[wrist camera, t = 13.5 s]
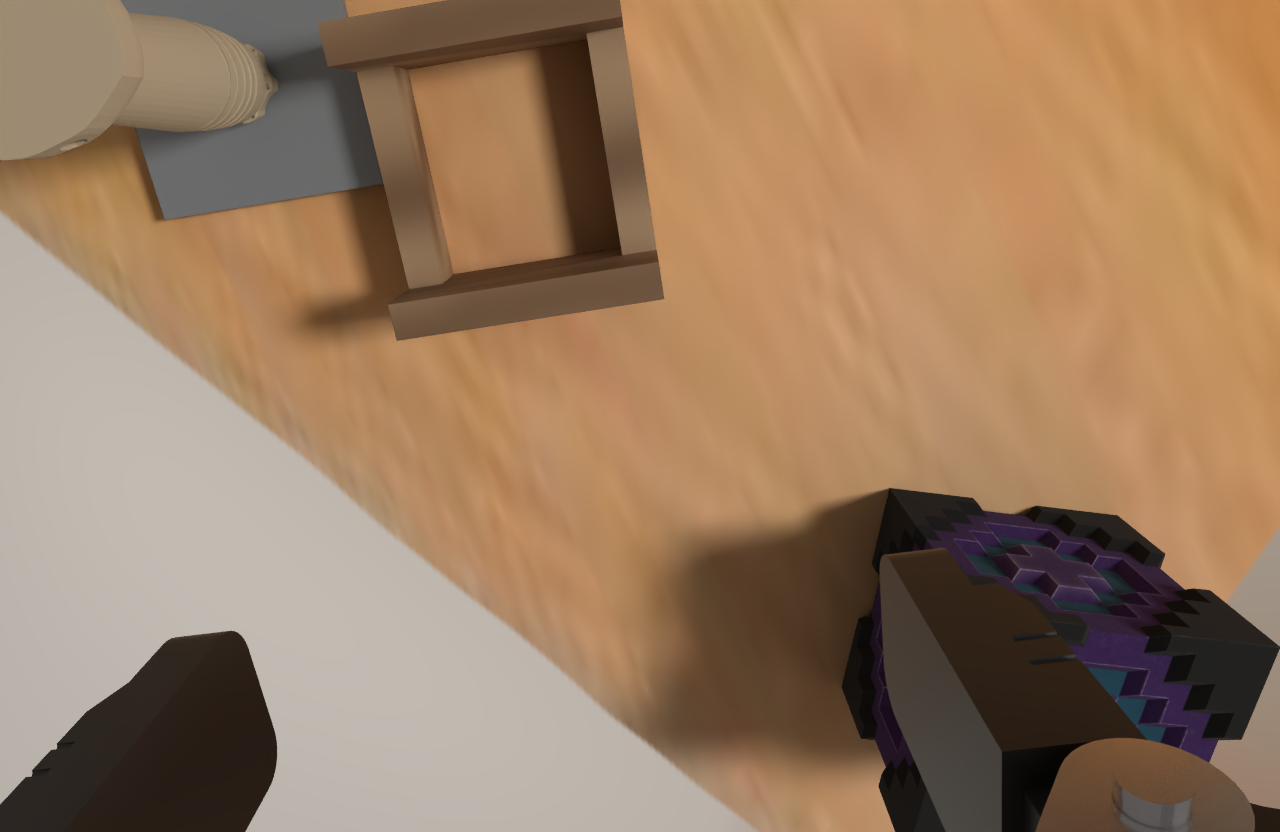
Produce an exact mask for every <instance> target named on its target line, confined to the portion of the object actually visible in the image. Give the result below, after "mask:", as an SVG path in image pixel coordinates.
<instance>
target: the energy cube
mask: <svg viewBox="0 0 1280 832" xmlns="http://www.w3.org/2000/svg"><path fill="white" fill-rule="evenodd" d="M937 548H945V549H946V550H947V551H948V552H949V553H950V554H951V556H952V557H953V558H954V560H955V561H956V562H957V564H958V565H959V566H960V568H961V569H962V571H963V572H964V573H965V575H966V576H967V577H968V579H969V580H970V581H971V583H972V584H973V585H974V586H976V585H984V584H993V583H998V584H1000V585H1002V586H1003V587H1005V588H1007V589H1009V590H1010V591H1012V592H1014V593H1016V594H1018V595H1019V596H1021V597H1023V598H1025V599H1026V600H1028V601H1030V602H1032V603H1033V604H1035V606H1036V607H1037V608H1038V609H1039V610H1040V612H1041V613H1042V614H1043V615H1044V616H1045V618H1046V619H1047V620H1048V621H1049V622H1050V624H1051V625H1052V626H1053V627H1054V628H1055V630H1056V631H1057V636H1058V637H1060V636H1061V637H1062V638H1063V639H1064V640H1065V642H1066V643H1067V644H1068V645H1069V646H1070V648H1071V649H1072V650H1073V651H1074V652H1075V654H1076V659H1077V660H1081V661H1082V662H1083V663H1084V665H1085V666H1086V667H1087V668H1088V669H1089V671H1090V672H1091V673H1092V674H1093V675H1094V677H1095V678H1096V679H1097V680H1098V681H1099V683H1100V684H1101V685H1102V686H1103V687H1104V689H1105V690H1106V691H1107V692H1108V693H1109V695H1110V696H1111V697H1112V698H1113V699H1114V701H1115V702H1116V703H1117V704H1118V705H1119V707H1120V708H1121V709H1122V710H1123V711H1124V713H1125V714H1126V715H1127V716H1128V717H1129V719H1130V720H1131V721H1132V722H1133V723H1134V725H1135V726H1136V727H1137V728H1138V729H1139V731H1140V732H1141V733H1142V734H1143V735H1144V737H1145V738H1146V739H1147V740H1150V741H1154V742H1158V743H1163V744H1167V745H1170V746H1173V747H1176V748H1179V749H1182V750H1184V751H1186V752H1189V753H1191V754H1193V755H1196V756H1197V757H1199V758H1201V759H1203V760H1205V761H1207V762H1208V763H1209V762H1210V759H1211V757H1212V754H1213V752H1214V749H1215V747H1216V745H1217V742H1218V740H1241V739H1242V737H1243V735H1244V732H1245V730H1246V728H1247V725H1248V723H1249V720H1250V718H1251V716H1252V713H1253V711H1254V709H1255V706H1256V703H1257V701H1258V699H1259V697H1260V694H1261V692H1262V689H1263V687H1264V685H1265V682H1266V680H1267V677H1268V675H1269V673H1270V670H1271V668H1272V666H1273V663H1274V661H1275V659H1276V656H1277V653H1278V651H1279V649H1280V646H1278V645H1277V644H1276V643H1275V642H1273V641H1272V640H1271V639H1269V638H1268V637H1267V636H1266V635H1265V634H1263V633H1262V632H1261V631H1259V630H1258V629H1257V628H1256V627H1255V626H1253V625H1252V624H1251V623H1250V622H1249V621H1247V620H1246V619H1245V618H1244V617H1242V616H1241V615H1240V614H1239V613H1237V612H1236V611H1235V610H1234V609H1232V608H1231V607H1230V606H1229V605H1228V604H1226V603H1225V602H1224V601H1223V600H1221V599H1220V598H1219V597H1218V596H1216V595H1215V594H1214V593H1213V592H1211V591H1210V590H1202V589H1187V590H1185V589H1183V588H1182V587H1181V586H1180V585H1179V584H1178V583H1176V582H1175V581H1174V580H1173V579H1172V578H1170V577H1169V576H1168V575H1167V574H1166V573H1165V572H1164V571H1162V570H1161V569H1160V568H1161V565H1162V562H1163V559H1164V557H1165V553H1163V552H1162V551H1161V550H1160V549H1158V548H1157V547H1156V546H1155V545H1153V544H1152V543H1151V542H1150V541H1148V540H1147V539H1146V538H1145V537H1143V536H1142V535H1141V534H1140V533H1138V532H1137V531H1136V530H1135V529H1134V528H1132V527H1131V526H1130V525H1129V524H1127V523H1126V522H1125V521H1124V520H1122V519H1121V518H1120V517H1119V516H1117V515H1108V514H1100V513H1092V512H1083V511H1075V510H1067V509H1059V508H1050V507H1042V506H1035V507H1034V509H1033V510H1032V512H1031V513H1030V514H1029V516H1020V515H1011V514H1003V513H995V512H986V511H983V510H982V509H981V507H980V506H979V505H978V503H977V502H976V501H975V500H974V499H973V498H968V497H959V496H951V495H943V494H934V493H926V492H918V491H909V490H901V489H893V488H890V489H889V493H888V498H887V502H886V506H885V510H884V514H883V518H882V522H881V527H880V531H879V535H878V539H877V543H876V547H875V552H874V556H873V560H872V565H873V567H874V568H875V570H876V572H877V573H878V575H879V576H880V561H881V557H882V556H883V555H887V554H895V553H904V552H912V551H921V550H929V549H937ZM842 689H843V692H844V695H845V697H846V700H847V703H848V705H849V708H850V711H851V713H852V716H853V719H854V722H855V724H856V727H857V730H858V732H859V735H860V737H861V739H870V740H876V743H877V745H878V748H879V750H880V753H881V756H882V758H883V761H884V763H885V766H886V768H885V770H884V771H883V773H882V775H881V779H880V783H879V789H880V792H881V794H882V797H883V800H884V803H885V805H886V808H887V811H888V813H889V816H890V819H891V821H892V824H893V827H894V830H895V832H946V831H945V829H944V827H943V825H942V822H941V820H940V818H939V815H938V813H937V811H936V809H935V806H934V804H933V802H932V800H931V797H930V795H929V793H928V790H927V788H926V786H925V784H924V781H923V779H922V777H921V775H920V772H919V770H918V768H917V765H916V763H915V761H914V759H913V756H912V754H911V752H910V750H909V747H908V745H907V743H906V740H905V738H904V736H903V734H902V731H901V729H900V727H899V725H898V722H897V720H896V717H895V715H894V712H893V709H892V706H891V702H890V698H889V694H888V689H887V684H886V678H885V670H884V656H883V635H882V614H881V593H880V581H879V585H878V589H877V593H876V597H875V601H874V605H873V610H872V614H871V617H864V618H859V619H858V622H857V626H856V630H855V634H854V639H853V643H852V647H851V651H850V655H849V659H848V663H847V668H846V672H845V676H844V680H843V684H842Z"/></svg>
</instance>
